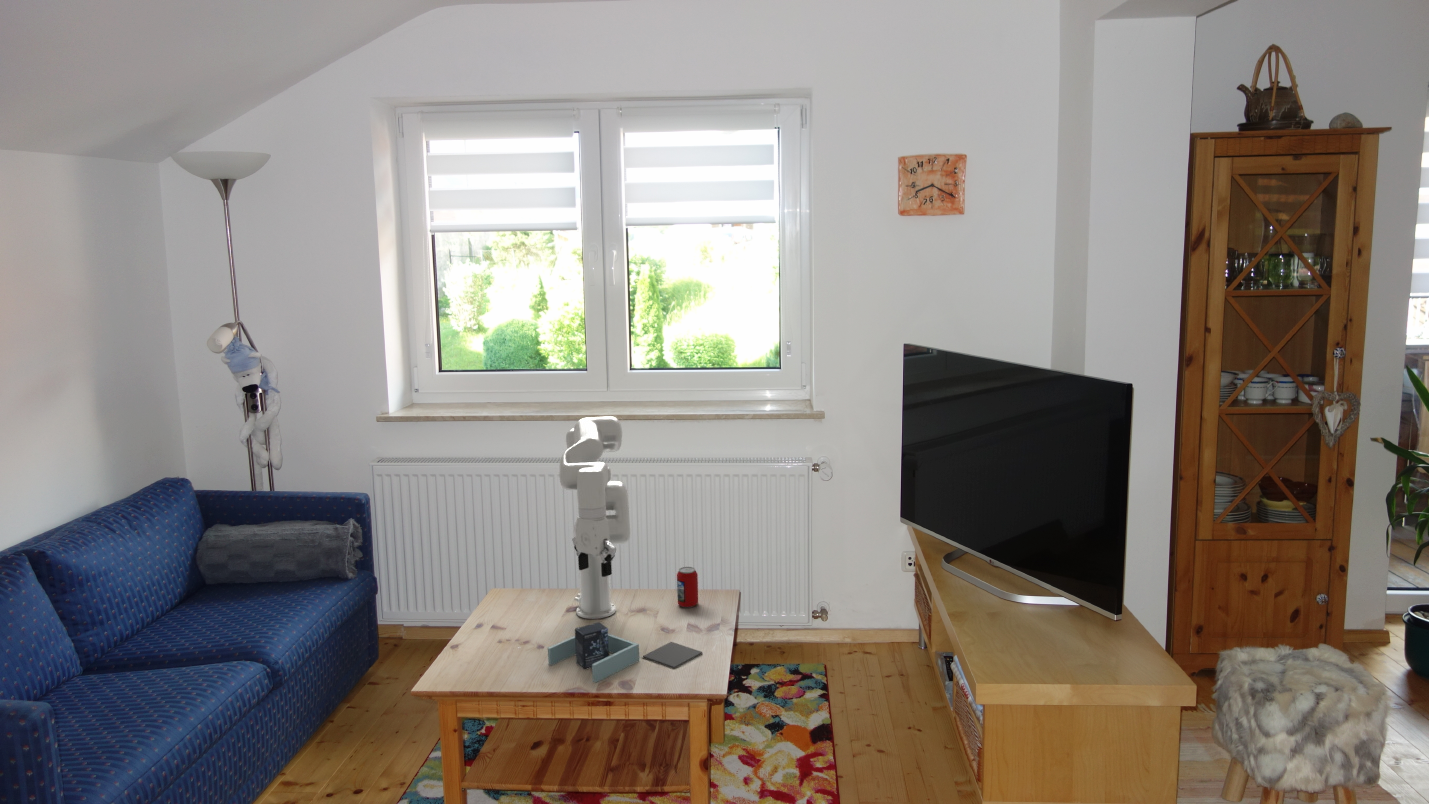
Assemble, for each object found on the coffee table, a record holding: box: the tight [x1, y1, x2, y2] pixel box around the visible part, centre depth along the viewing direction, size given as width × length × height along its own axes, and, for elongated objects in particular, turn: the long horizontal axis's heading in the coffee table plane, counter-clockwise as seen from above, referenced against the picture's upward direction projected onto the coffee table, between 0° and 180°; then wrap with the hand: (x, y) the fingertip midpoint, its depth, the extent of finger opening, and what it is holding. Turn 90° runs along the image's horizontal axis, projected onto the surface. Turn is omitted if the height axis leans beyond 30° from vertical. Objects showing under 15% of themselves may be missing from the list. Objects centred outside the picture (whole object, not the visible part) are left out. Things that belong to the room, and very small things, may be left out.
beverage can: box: [676, 566, 699, 608], centre depth 304 cm, size 7×7×12 cm
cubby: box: [547, 633, 640, 683], centre depth 263 cm, size 19×17×5 cm
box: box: [574, 621, 610, 671], centre depth 262 cm, size 8×6×11 cm
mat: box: [642, 641, 703, 669], centre depth 266 cm, size 12×12×1 cm
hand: (595, 572), depth 261 cm, fingers open, 9 cm apart
